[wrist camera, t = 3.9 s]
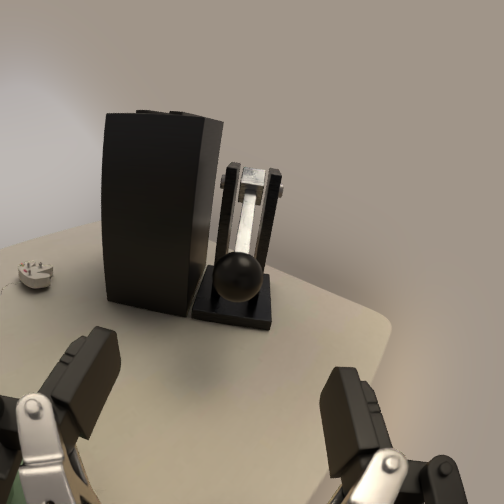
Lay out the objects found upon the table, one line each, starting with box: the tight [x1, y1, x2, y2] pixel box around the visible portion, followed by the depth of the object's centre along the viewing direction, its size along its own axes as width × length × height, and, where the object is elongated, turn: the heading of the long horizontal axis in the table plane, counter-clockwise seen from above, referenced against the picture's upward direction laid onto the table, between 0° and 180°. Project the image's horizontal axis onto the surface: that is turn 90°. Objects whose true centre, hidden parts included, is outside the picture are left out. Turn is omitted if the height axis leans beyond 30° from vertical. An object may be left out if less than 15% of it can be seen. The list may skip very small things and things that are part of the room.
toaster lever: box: [212, 167, 265, 302], centre depth 24 cm, size 14×4×4 cm, turn 178°
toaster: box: [101, 110, 224, 317], centre depth 30 cm, size 12×9×19 cm
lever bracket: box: [191, 162, 283, 330], centre depth 30 cm, size 10×8×15 cm
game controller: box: [0, 261, 53, 295], centre depth 24 cm, size 6×12×3 cm, turn 173°
